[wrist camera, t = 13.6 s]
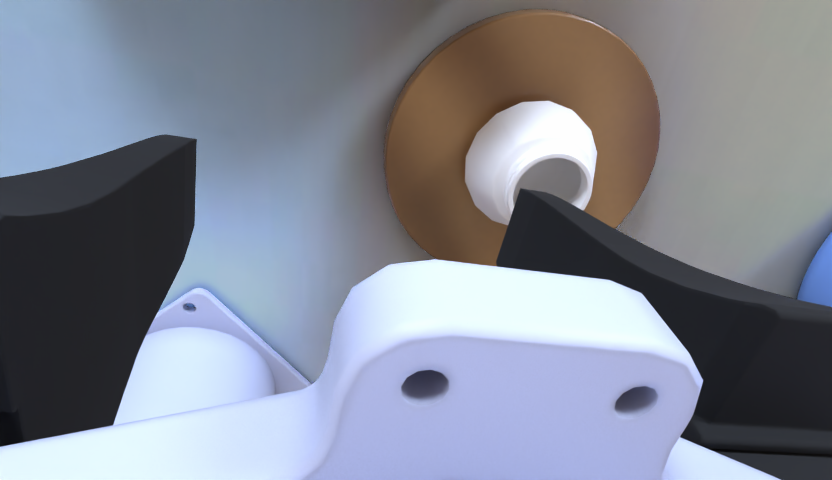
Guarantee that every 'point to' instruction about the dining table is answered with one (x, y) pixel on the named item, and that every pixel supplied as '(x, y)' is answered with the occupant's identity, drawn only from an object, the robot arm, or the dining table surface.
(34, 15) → the dining table surface
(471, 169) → the lidless jar
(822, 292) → the water jug
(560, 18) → the trivet
